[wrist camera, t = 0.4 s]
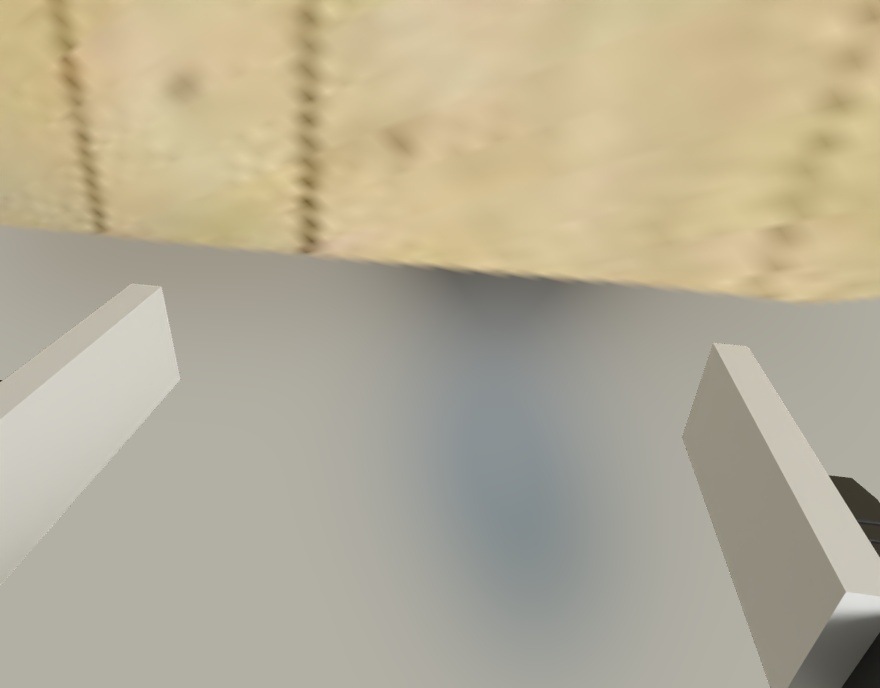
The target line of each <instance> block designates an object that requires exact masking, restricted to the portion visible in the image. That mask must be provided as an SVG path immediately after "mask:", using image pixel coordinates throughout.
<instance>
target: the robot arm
mask: <svg viewBox="0 0 880 688" xmlns="http://www.w3.org/2000/svg"><path fill="white" fill-rule="evenodd" d="M179 381H180V375H179V370H178V365H177V360H176V355H175V350H174V345H173V340H172V335H171V330H170V325H169V320H168V315H167V311H166V305H165V300H164V296H163V291H162V287H161V286H153V285H143V284H133V283H131V284H130V285H129V286H128V287H126V288H125V289H123V290H122V291H121V292H119V293H118V294H117V295H115V296H114V297H113V298H111V299H110V300H109V301H108V302H106V303H105V304H104V305H102V306H101V307H100V308H98V309H97V310H96V311H94V312H93V313H92V314H90V315H89V316H88V317H86V318H85V319H84V320H82V321H81V322H80V323H78V324H77V325H76V326H74V327H73V328H72V329H70V330H69V331H68V332H66V333H65V334H64V335H62V336H61V337H60V338H58V339H57V340H56V341H54V342H53V343H52V344H50V345H49V346H48V347H47V348H45V349H44V350H43V351H42V352H40V353H39V354H37V355H36V356H35V357H33V358H32V359H31V360H29V361H28V362H27V363H25V364H24V365H23V366H21V367H20V368H19V369H17V370H16V371H15V372H13V373H12V374H11V375H9V376H8V377H7V378H5V379H4V380H0V585H1V584H2V583H3V582H4V581H5V580H6V579H7V577H8V576H9V575H10V574H11V573H12V572H13V571H14V569H15V568H16V567H17V566H18V565H19V563H21V561H22V560H23V559H24V558H25V557H26V556H27V555H28V553H29V552H30V551H31V550H32V549H33V548H34V547H35V545H36V544H37V543H38V542H39V541H40V540H41V538H43V536H44V535H45V534H46V533H47V532H48V530H50V528H51V527H52V526H53V525H54V524H55V522H56V521H57V520H58V519H59V518H60V517H61V516H62V514H63V513H64V512H65V511H66V510H67V509H68V508H69V507H70V506H71V504H72V503H73V502H74V501H75V500H76V499H77V498H78V496H79V495H80V494H81V493H82V492H83V491H84V490H85V488H86V487H87V486H88V485H89V484H90V483H91V481H92V480H93V479H94V478H95V477H96V476H97V475H98V474H99V472H100V471H101V470H102V469H103V468H104V467H105V465H106V464H107V463H108V462H109V461H110V460H111V459H112V458H113V456H114V455H115V454H116V453H117V452H118V451H119V450H120V448H121V447H122V446H123V445H124V444H125V443H126V441H127V440H128V439H129V438H130V437H131V436H132V435H133V433H134V432H135V431H136V430H137V429H138V428H139V427H140V425H141V424H142V423H143V422H144V421H145V420H146V419H147V417H148V416H149V415H150V414H151V413H152V412H153V411H154V410H155V408H156V407H157V406H158V405H159V404H160V403H161V402H162V400H163V399H164V398H165V397H166V396H167V395H168V394H169V392H170V391H171V390H172V389H173V388H174V387H175V386H176V384H177V383H178V382H179ZM682 438H683V441H684V444H685V447H686V450H687V452H688V456H689V458H690V461H691V464H692V467H693V469H694V473H695V475H696V478H697V481H698V484H699V487H700V490H701V492H702V495H703V498H704V501H705V503H706V506H707V509H708V512H709V515H710V518H711V520H712V523H713V526H714V529H715V532H716V535H717V538H718V540H719V543H720V546H721V549H722V552H723V555H724V558H725V560H726V563H727V566H728V569H729V572H730V575H731V578H732V580H733V583H734V586H735V589H736V592H737V594H738V597H739V600H740V603H741V606H742V609H743V611H744V614H745V617H746V620H747V623H748V625H749V629H750V631H751V634H752V637H753V640H754V643H755V645H756V648H757V651H758V654H759V657H760V660H761V662H762V665H763V668H764V671H765V674H766V677H767V680H768V682H769V685H770V688H880V503H879V501H878V500H877V499H876V498H875V497H874V496H872V495H871V494H870V493H869V492H868V491H866V490H865V489H864V488H863V487H862V486H860V485H859V484H858V483H857V482H856V481H855V480H853V479H852V478H846V477H838V476H829V475H828V474H827V472H826V471H825V469H824V468H823V466H822V464H821V463H820V461H819V460H818V458H817V456H816V455H815V453H814V452H813V450H812V449H811V447H810V445H809V444H808V442H807V441H806V439H805V437H804V436H803V434H802V432H801V431H800V429H799V428H798V426H797V424H796V423H795V421H794V420H793V419H792V416H791V415H790V413H789V412H788V410H787V409H786V407H785V405H784V404H783V402H782V401H781V399H780V398H779V396H778V394H777V392H776V391H775V389H774V388H773V386H772V384H771V383H770V381H769V380H768V378H767V376H766V375H765V373H764V372H763V370H762V368H761V367H760V365H759V364H758V362H757V361H756V359H755V357H754V356H753V354H752V352H751V351H750V349H749V348H748V347H747V346H739V345H729V344H719V343H713V345H712V348H711V351H710V354H709V357H708V360H707V363H706V366H705V369H704V372H703V375H702V378H701V381H700V384H699V387H698V390H697V393H696V396H695V399H694V402H693V405H692V409H691V411H690V415H689V418H688V420H687V424H686V427H685V430H684V433H683V436H682Z"/></svg>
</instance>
